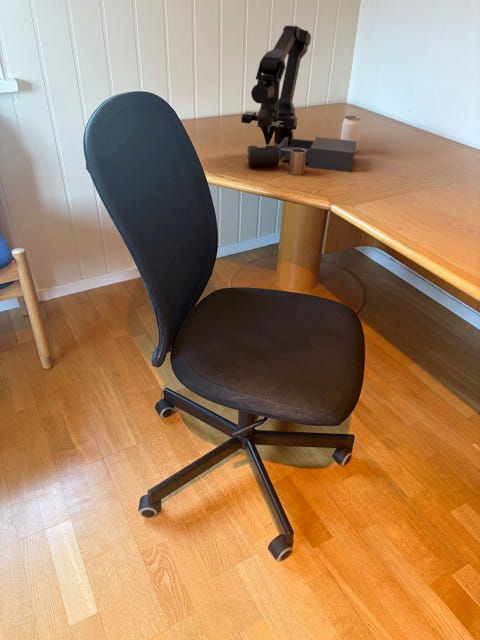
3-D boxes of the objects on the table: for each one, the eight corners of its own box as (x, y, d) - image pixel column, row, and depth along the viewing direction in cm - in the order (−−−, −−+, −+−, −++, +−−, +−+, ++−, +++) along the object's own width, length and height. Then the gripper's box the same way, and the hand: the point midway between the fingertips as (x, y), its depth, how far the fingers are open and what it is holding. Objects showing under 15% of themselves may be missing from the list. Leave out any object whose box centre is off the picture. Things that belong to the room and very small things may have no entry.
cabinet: (308, 166, 169) (310, 147, 165) (314, 155, 179) (316, 137, 176) (350, 171, 166) (353, 152, 162) (353, 159, 176) (356, 141, 173)
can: (356, 154, 181) (361, 120, 174) (338, 153, 182) (343, 119, 175) (356, 149, 186) (361, 116, 179) (339, 148, 187) (344, 115, 180)
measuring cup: (278, 172, 163) (279, 150, 158) (281, 168, 167) (283, 146, 163) (302, 175, 161) (304, 153, 157) (305, 170, 165) (307, 148, 161)
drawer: (266, 159, 172) (267, 145, 169) (274, 148, 182) (275, 135, 179) (314, 164, 168) (316, 150, 165) (320, 153, 178) (321, 140, 175)
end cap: (249, 171, 163) (250, 150, 159) (245, 164, 169) (246, 144, 165) (278, 170, 165) (280, 150, 161) (274, 163, 170) (275, 143, 166)
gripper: (237, 100, 162) (236, 148, 171) (292, 105, 158) (288, 154, 167) (246, 93, 170) (245, 139, 180) (299, 98, 166) (295, 145, 176)
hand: (267, 144), depth 175 cm, fingers closed
